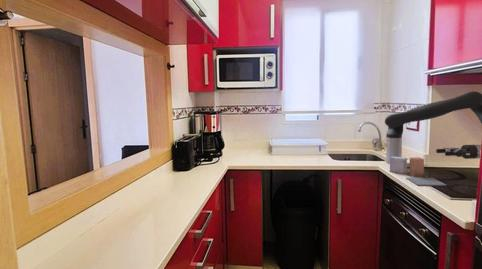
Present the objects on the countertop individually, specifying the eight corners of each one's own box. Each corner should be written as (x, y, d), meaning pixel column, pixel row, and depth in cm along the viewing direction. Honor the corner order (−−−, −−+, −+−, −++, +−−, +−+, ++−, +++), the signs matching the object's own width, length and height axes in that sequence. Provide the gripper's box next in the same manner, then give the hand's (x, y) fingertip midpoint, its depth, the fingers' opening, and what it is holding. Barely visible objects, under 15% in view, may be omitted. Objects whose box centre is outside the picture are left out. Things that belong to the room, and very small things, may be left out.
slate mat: (406, 178, 149) (406, 177, 149) (432, 178, 147) (432, 177, 147) (417, 185, 136) (417, 184, 136) (446, 185, 134) (446, 184, 134)
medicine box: (406, 172, 161) (407, 157, 160) (404, 173, 159) (404, 159, 158) (392, 170, 167) (392, 156, 166) (389, 171, 164) (389, 157, 164)
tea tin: (409, 174, 156) (409, 157, 155) (418, 174, 155) (419, 157, 154) (413, 177, 151) (413, 159, 150) (423, 177, 150) (423, 159, 149)
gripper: (465, 142, 154) (433, 143, 156) (483, 146, 140) (448, 147, 142) (465, 156, 155) (433, 156, 157) (483, 161, 141) (448, 161, 143)
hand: (440, 152), depth 150 cm, fingers open, 8 cm apart
